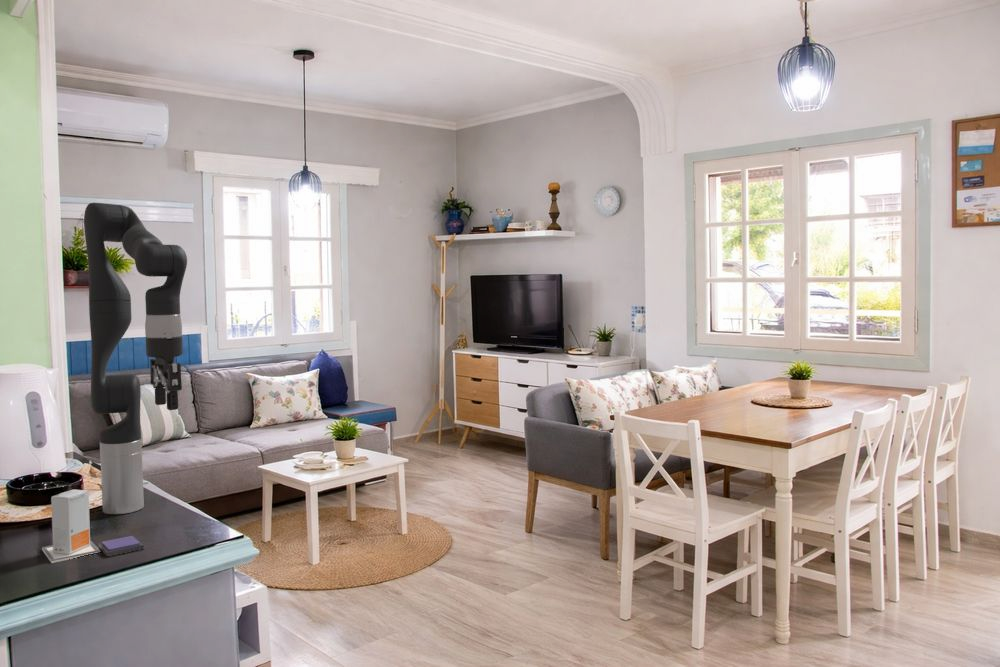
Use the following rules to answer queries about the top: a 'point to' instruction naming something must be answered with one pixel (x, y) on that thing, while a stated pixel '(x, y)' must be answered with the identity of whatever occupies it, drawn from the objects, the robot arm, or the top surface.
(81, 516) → the skincare box
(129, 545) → the ink pad
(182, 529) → the top surface
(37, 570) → the top surface
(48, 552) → the framed whiteboard
